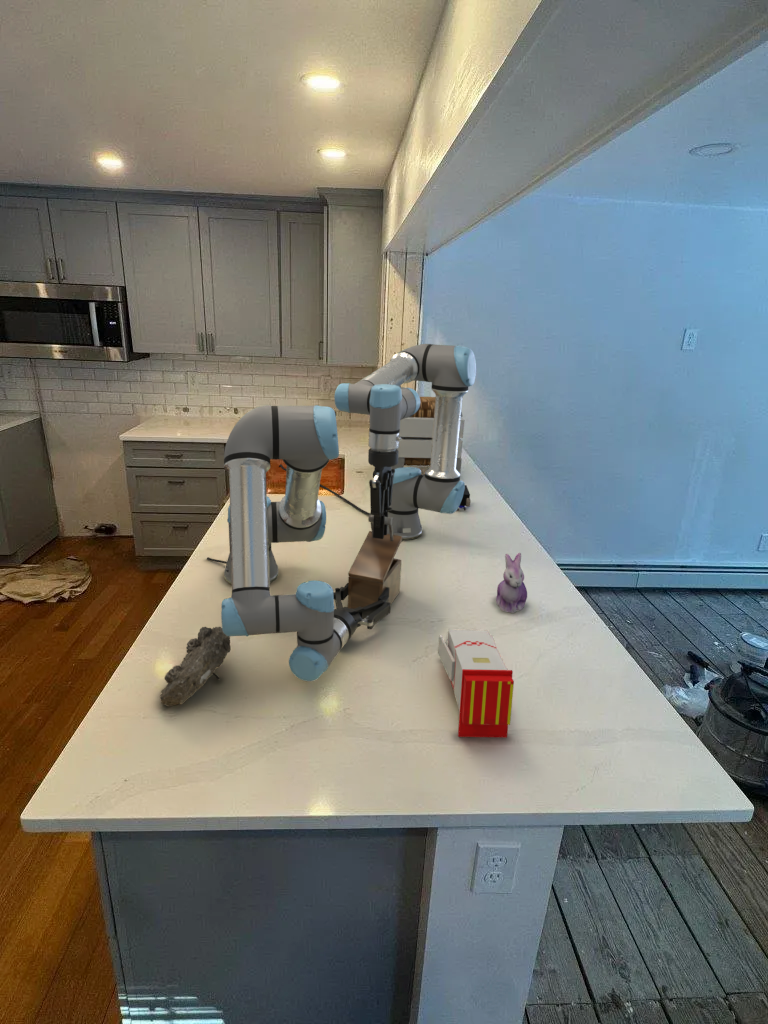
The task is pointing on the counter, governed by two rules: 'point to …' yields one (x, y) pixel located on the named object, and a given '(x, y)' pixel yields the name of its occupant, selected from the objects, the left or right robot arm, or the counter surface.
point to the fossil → (196, 665)
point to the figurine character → (465, 499)
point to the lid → (376, 554)
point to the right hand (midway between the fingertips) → (380, 535)
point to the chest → (374, 587)
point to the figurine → (512, 586)
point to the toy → (478, 682)
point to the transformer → (421, 437)
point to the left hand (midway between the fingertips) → (369, 588)
